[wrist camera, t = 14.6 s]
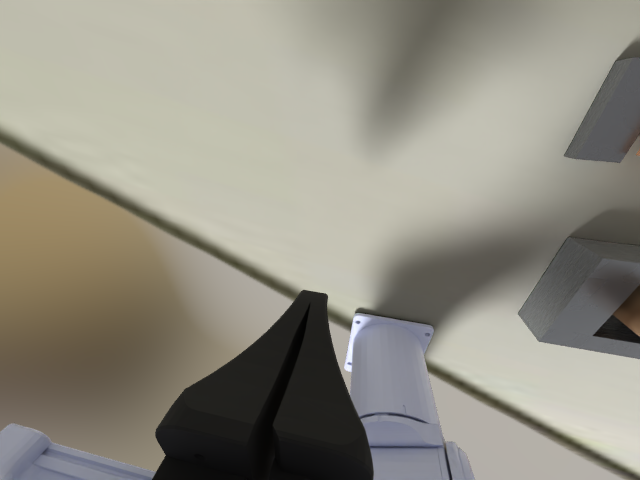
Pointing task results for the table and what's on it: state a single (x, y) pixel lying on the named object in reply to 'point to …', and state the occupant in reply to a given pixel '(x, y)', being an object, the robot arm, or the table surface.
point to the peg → (630, 311)
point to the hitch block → (586, 297)
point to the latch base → (611, 116)
